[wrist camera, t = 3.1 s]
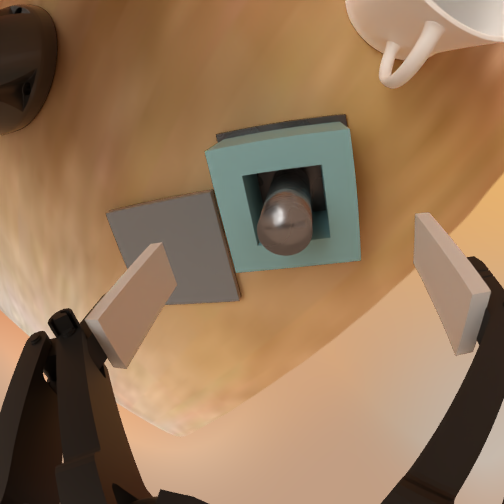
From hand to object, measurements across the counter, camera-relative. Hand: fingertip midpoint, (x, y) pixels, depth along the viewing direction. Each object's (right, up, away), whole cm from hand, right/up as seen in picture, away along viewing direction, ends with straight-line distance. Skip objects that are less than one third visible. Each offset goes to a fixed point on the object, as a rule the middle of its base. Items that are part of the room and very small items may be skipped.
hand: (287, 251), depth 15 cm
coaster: (-9, 0, +14) cm, 17 cm away
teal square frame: (+1, +5, +9) cm, 10 cm away
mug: (+9, +17, +2) cm, 19 cm away
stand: (+1, +5, +9) cm, 11 cm away
